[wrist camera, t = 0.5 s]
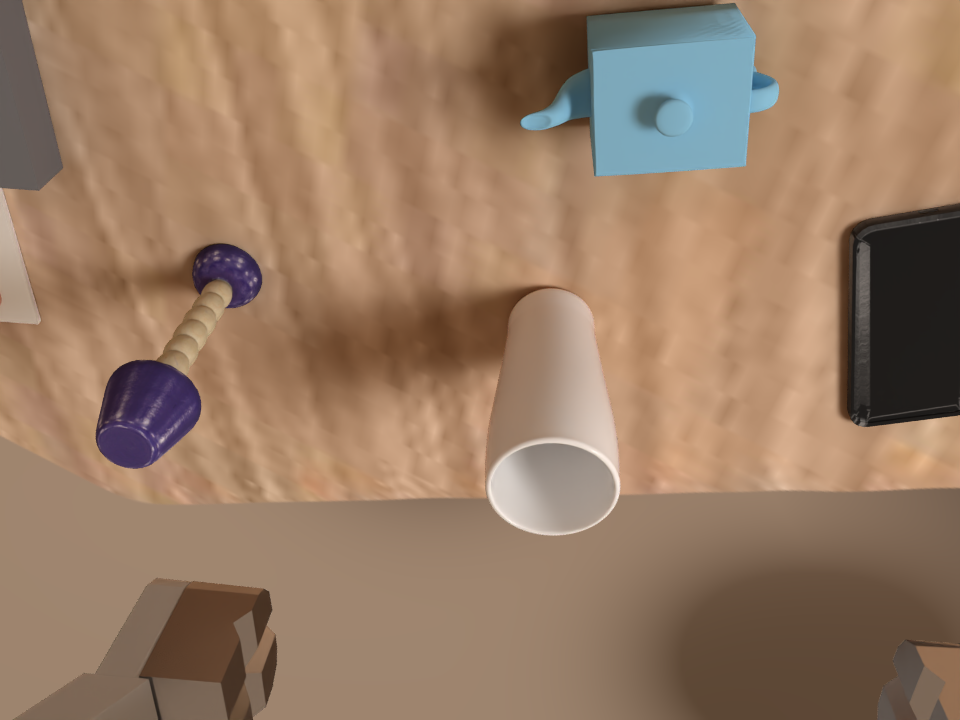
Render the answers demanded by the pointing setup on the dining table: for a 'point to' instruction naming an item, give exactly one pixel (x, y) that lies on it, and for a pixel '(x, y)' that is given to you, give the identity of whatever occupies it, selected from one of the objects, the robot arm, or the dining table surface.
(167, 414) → the toy lamp
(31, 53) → the button panel
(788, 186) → the dining table surface
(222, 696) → the robot arm
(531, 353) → the drinking glass
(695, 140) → the teapot
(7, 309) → the pattern card
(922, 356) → the phone
